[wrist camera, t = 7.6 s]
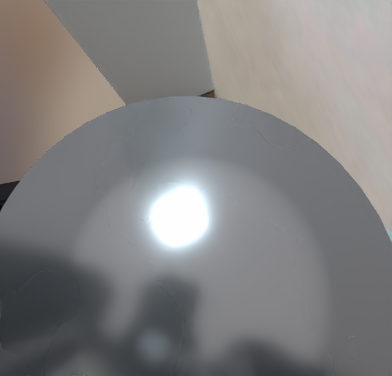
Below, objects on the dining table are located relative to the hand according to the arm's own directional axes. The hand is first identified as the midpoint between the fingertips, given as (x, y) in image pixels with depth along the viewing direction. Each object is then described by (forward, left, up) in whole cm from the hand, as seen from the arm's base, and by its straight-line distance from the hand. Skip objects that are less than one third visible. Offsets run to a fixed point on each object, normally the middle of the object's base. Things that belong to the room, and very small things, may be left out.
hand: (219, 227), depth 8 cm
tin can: (-1, 0, -8) cm, 8 cm away
